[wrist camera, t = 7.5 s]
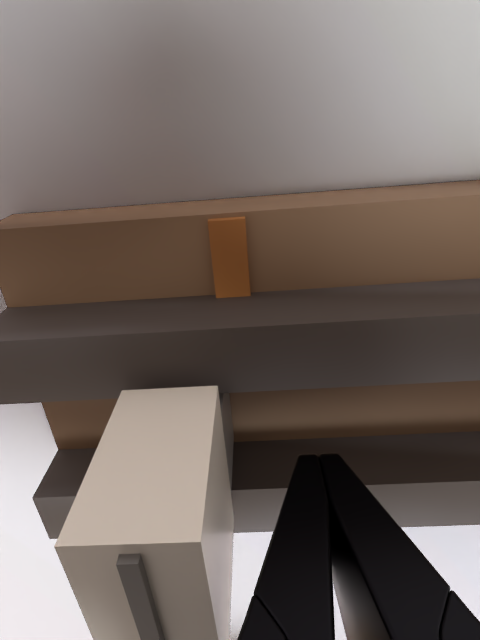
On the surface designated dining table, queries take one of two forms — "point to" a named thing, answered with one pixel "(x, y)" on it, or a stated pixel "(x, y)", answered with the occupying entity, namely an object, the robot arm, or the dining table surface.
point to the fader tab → (156, 519)
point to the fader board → (279, 260)
